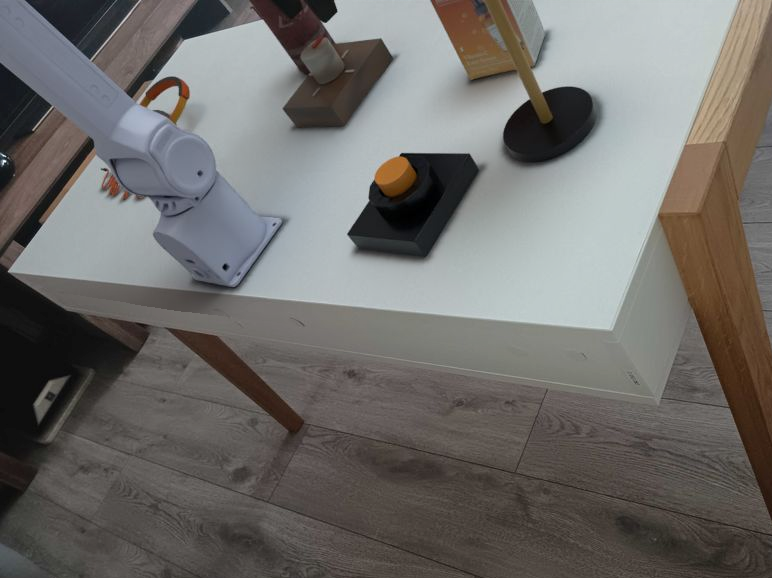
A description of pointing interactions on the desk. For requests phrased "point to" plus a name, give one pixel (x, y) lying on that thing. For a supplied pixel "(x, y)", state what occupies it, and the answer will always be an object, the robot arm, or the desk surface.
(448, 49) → the desk surface
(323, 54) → the dimmer knob
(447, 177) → the switch base
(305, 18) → the can
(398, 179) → the lamp switch
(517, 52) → the desk lamp
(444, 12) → the small box
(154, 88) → the headphones
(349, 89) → the dimmer panel
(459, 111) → the desk surface
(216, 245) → the robot arm
